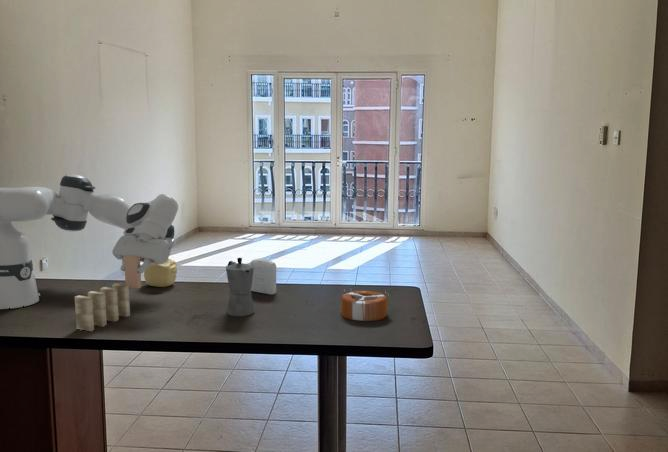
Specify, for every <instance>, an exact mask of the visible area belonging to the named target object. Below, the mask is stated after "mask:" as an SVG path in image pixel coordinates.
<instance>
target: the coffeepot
mask: <svg viewBox="0 0 668 452" xmlns="http://www.w3.org/2000/svg"><path fill="white" fill-rule="evenodd" d="M236 260H237V262H235V261H233V260H230V261H228V264H227V265H225V269H226V278H227V282H228V288H229V294H228V301H227V309H226V311H227V315H229V316H231V317H246V316H250V315H252V314H254V313H255V308H254V301H253V297H252V291H251V287H252V279H253V271H254V266H253V265H250V263H249V264H248V263H243V258H242V257H237V258H236Z"/></svg>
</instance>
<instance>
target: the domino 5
mask: <svg viewBox="0 0 668 452" xmlns="http://www.w3.org/2000/svg"><path fill="white" fill-rule="evenodd" d="M138 266H141V262H140V257H135V256H124V267H125V271H124V280H125V281H124V284H126V285H128V286H129V288H131V289H133V288H134V289H140V288H142V273H138V272H137V271H136V270H137V268H138Z"/></svg>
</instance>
